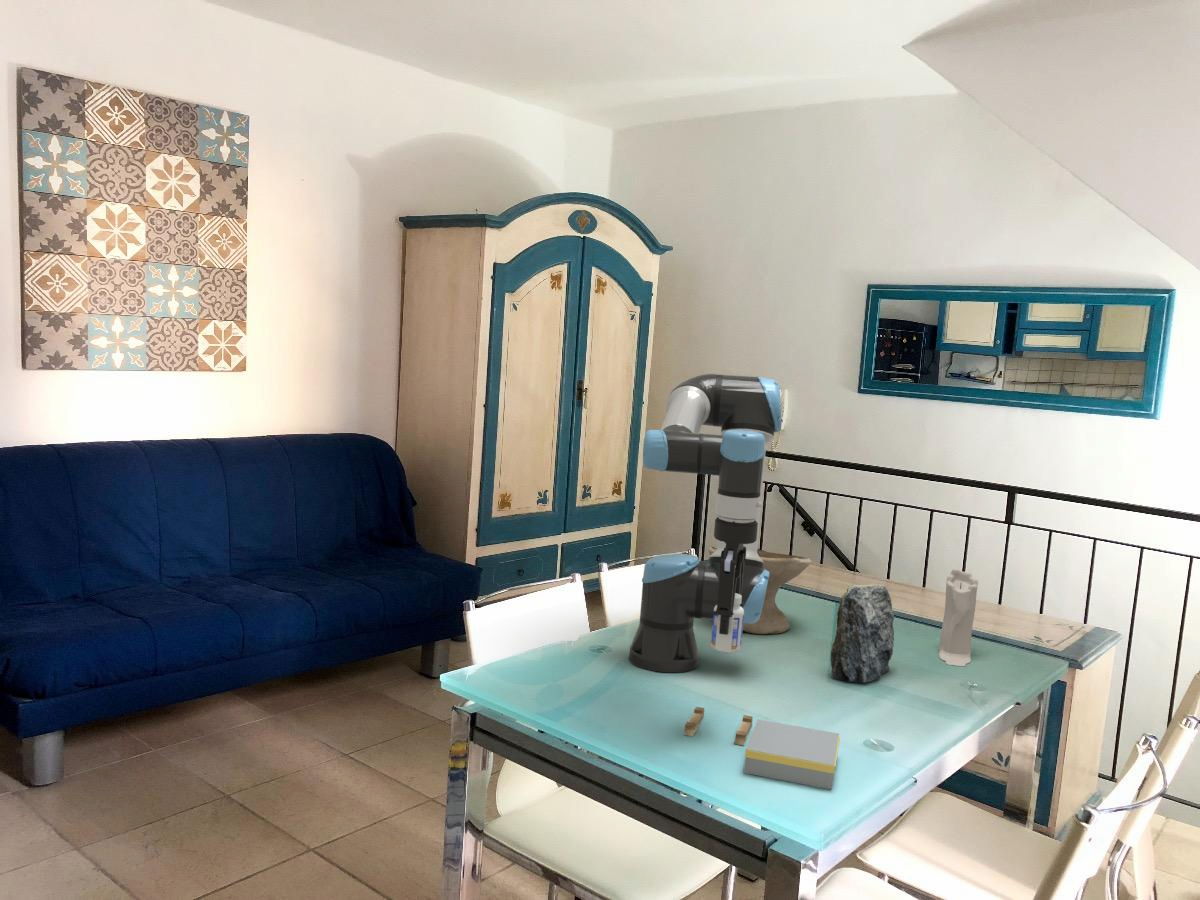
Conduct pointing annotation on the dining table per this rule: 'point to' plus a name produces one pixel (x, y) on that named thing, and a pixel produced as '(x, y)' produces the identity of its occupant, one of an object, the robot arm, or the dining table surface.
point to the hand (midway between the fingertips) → (725, 645)
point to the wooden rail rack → (698, 716)
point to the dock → (792, 754)
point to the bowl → (774, 590)
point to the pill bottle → (737, 625)
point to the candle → (958, 618)
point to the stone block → (863, 634)
